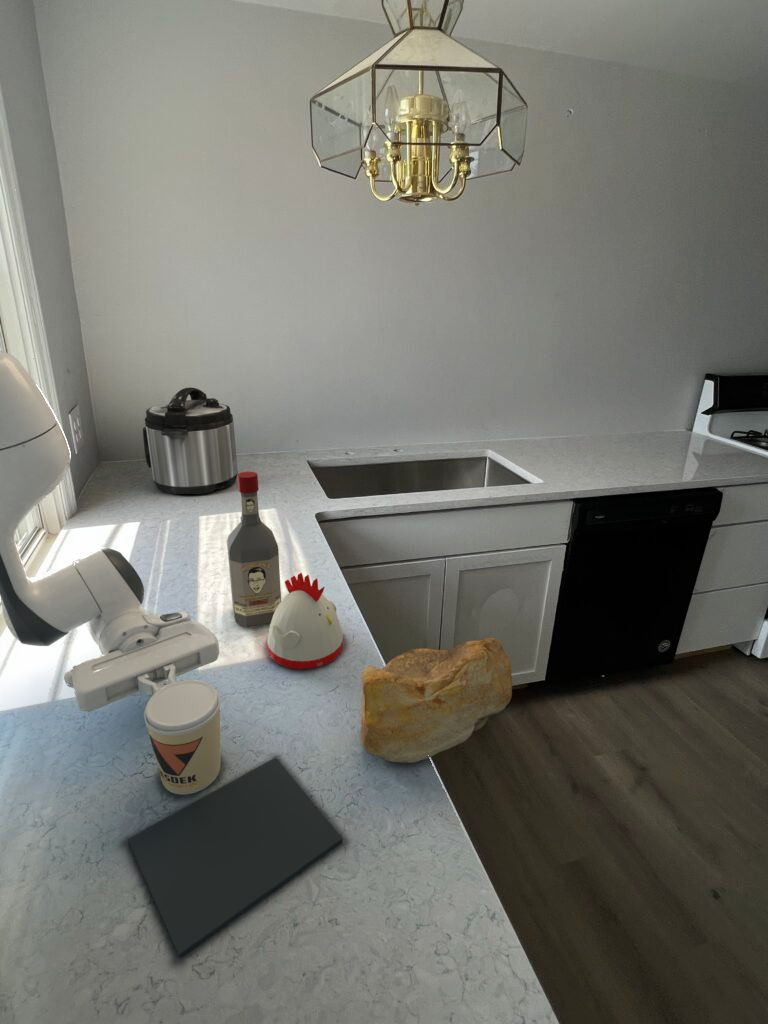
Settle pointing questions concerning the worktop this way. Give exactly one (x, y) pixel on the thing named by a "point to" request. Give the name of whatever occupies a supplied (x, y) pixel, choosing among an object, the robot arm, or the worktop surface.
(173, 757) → the coffee cup
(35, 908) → the worktop surface
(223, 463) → the pressure cooker
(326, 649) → the kitchen timer
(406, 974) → the worktop surface
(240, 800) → the slate mat
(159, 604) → the worktop surface
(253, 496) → the liquor
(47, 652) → the worktop surface
